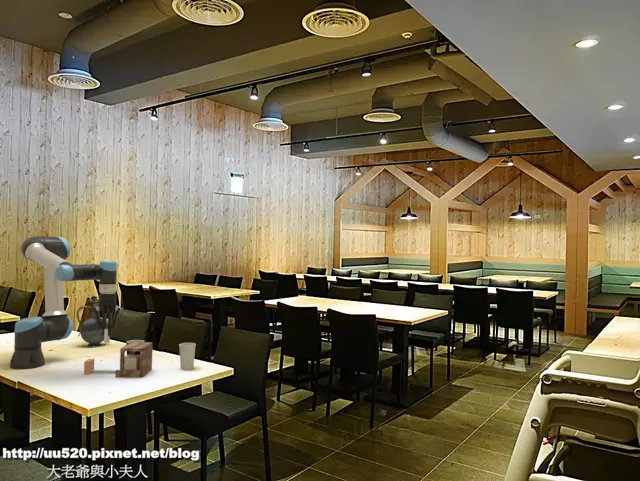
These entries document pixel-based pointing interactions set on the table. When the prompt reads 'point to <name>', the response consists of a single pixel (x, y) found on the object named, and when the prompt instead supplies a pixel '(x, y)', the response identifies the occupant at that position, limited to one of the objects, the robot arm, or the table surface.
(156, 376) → the table surface
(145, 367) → the cubby
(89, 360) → the mismatched dumbbell
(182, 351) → the cup
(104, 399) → the table surface
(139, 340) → the mug
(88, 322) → the pitcher
